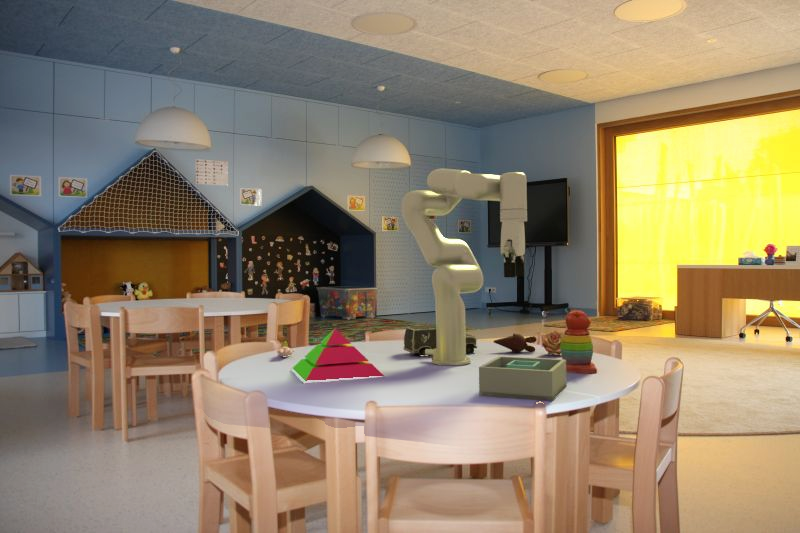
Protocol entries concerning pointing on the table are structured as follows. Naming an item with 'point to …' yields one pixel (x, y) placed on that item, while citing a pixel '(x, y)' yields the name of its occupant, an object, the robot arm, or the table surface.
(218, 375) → the table surface
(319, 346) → the pyramid toy
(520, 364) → the box
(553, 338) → the flower
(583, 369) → the stacking bear
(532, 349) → the icecream
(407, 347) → the toy van
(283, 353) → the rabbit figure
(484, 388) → the big crate
